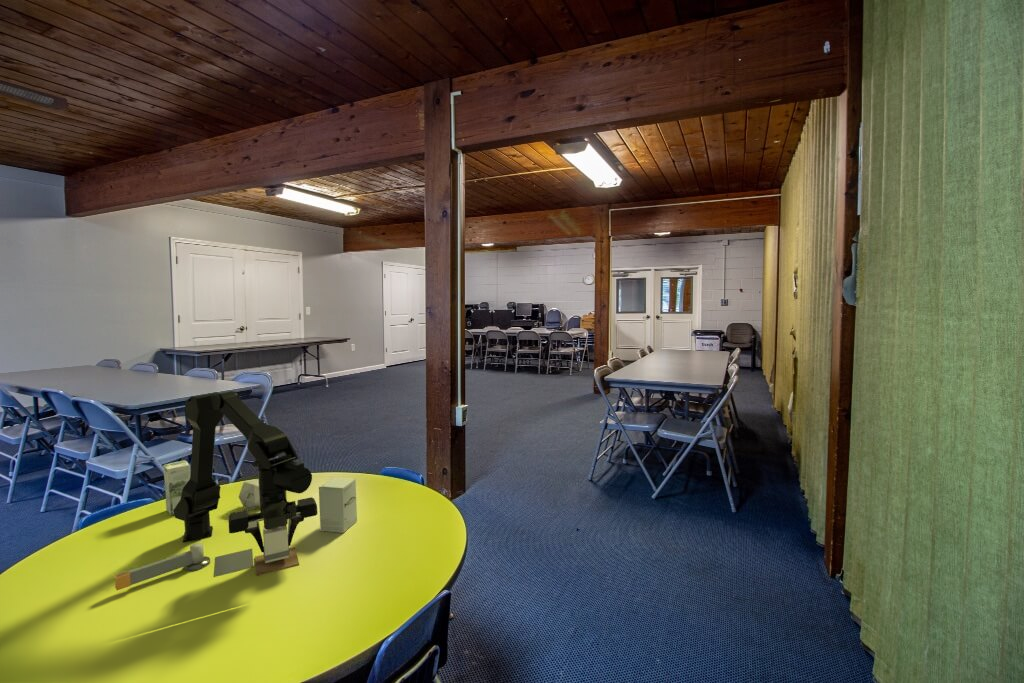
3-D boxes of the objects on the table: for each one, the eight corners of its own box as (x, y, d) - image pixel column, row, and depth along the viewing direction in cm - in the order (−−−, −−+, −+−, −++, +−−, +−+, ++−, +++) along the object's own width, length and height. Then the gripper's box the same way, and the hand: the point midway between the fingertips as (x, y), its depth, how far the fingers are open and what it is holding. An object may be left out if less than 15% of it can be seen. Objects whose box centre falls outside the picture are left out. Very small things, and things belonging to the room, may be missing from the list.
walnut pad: (255, 558, 118) (255, 556, 118) (295, 549, 123) (295, 546, 123) (256, 577, 110) (256, 574, 110) (299, 565, 115) (299, 563, 115)
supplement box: (344, 533, 131) (342, 488, 130) (319, 531, 132) (317, 486, 131) (358, 521, 138) (356, 478, 137) (334, 519, 139) (332, 476, 138)
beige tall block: (263, 553, 117) (261, 522, 117) (287, 547, 120) (286, 517, 119) (264, 563, 113) (262, 531, 112) (289, 557, 115) (288, 526, 115)
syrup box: (188, 504, 151) (185, 459, 150) (193, 510, 147) (189, 463, 145) (166, 510, 147) (162, 463, 145) (170, 516, 143) (167, 468, 141)
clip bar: (202, 556, 117) (201, 541, 117) (205, 560, 115) (204, 545, 115) (115, 586, 105) (113, 570, 105) (117, 591, 103) (115, 574, 103)
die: (232, 510, 148) (230, 492, 142) (250, 487, 155) (249, 468, 149) (259, 520, 148) (258, 501, 142) (276, 496, 155) (276, 477, 149)
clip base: (186, 564, 116) (186, 560, 116) (210, 558, 119) (210, 554, 119) (184, 574, 112) (184, 569, 112) (209, 568, 114) (209, 563, 114)
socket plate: (215, 558, 119) (215, 557, 119) (252, 549, 123) (252, 548, 123) (213, 578, 110) (213, 576, 110) (253, 568, 114) (253, 567, 114)
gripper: (226, 506, 103) (230, 576, 105) (319, 489, 113) (322, 553, 114) (227, 489, 113) (231, 553, 114) (312, 474, 122) (315, 533, 124)
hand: (275, 548), depth 116 cm, fingers closed on beige tall block, 5 cm apart
